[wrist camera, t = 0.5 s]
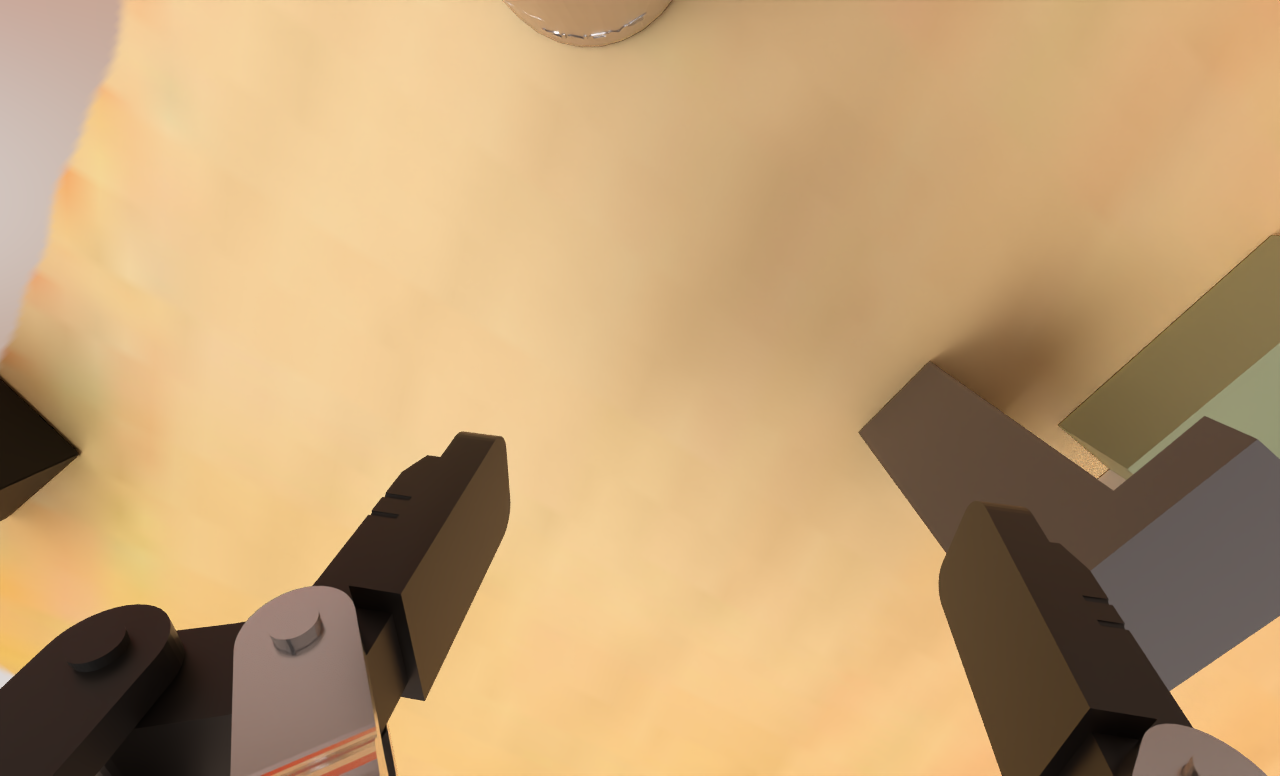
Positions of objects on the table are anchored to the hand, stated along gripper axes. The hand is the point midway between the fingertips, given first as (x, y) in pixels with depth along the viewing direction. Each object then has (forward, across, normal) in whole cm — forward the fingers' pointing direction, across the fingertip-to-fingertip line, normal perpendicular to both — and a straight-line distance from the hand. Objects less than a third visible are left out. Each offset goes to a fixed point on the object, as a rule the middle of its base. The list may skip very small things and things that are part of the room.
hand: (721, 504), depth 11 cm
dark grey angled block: (+20, -12, +8) cm, 25 cm away
